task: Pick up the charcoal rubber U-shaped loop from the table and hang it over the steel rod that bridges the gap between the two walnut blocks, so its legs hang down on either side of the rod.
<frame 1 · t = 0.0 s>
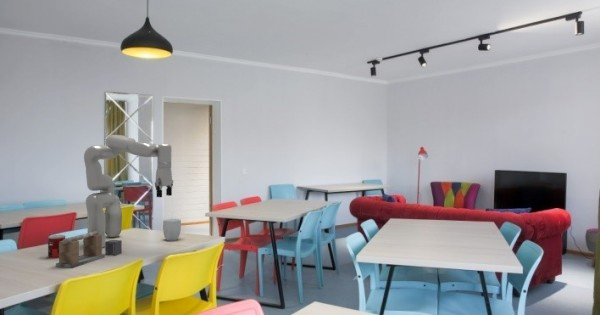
hand: (164, 196, 236), 31 cm above the table, tool pointing down, fingers open, 9 cm apart
rubber loop: (113, 254, 230), on the table
rod stand: (81, 261, 214), on the table
canned food: (56, 257, 223), on the table
mug: (172, 239, 269), on the table
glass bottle: (113, 237, 275), on the table
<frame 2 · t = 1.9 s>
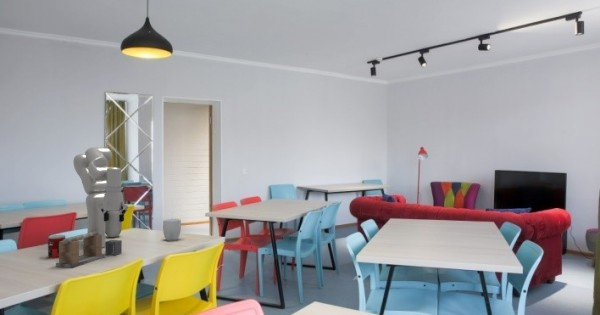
hand: (113, 221, 229), 18 cm above the table, tool pointing down, fingers open, 9 cm apart
nothing on the table moved.
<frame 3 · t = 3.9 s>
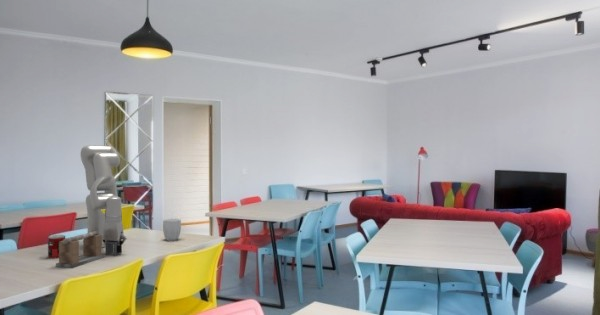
hand: (113, 251, 230), 1 cm above the table, tool pointing down, fingers closed on rubber loop, 6 cm apart
rubber loop: (113, 254, 230), on the table, touching gripper
everything else where it was.
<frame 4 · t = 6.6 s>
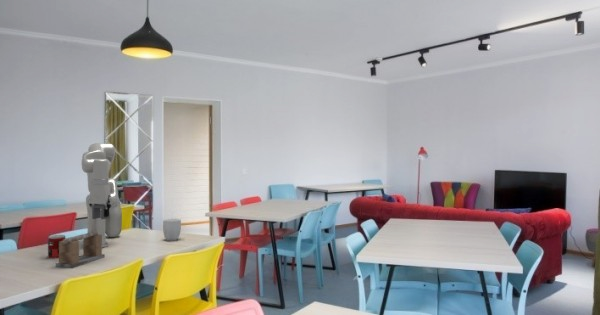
hand: (100, 216, 222), 22 cm above the table, tool pointing down, fingers closed on rubber loop, 6 cm apart
rubber loop: (100, 218, 222), point 21 cm above the table, touching gripper
everything else where it was.
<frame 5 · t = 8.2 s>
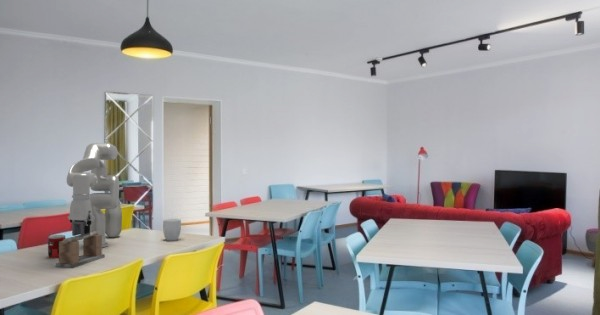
hand: (81, 232, 213), 15 cm above the table, tool pointing down, fingers closed on rubber loop, 6 cm apart
rubber loop: (81, 235, 213), point 14 cm above the table, touching gripper
everything else where it was.
when the fingers open (10 cm above the table, at t = 9.5 s): rubber loop drops 1 cm, resting on rod stand.
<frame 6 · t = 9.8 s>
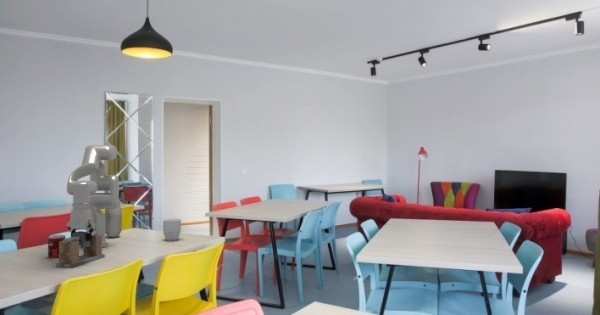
hand: (81, 240, 214), 11 cm above the table, tool pointing down, fingers open, 8 cm apart
rubber loop: (81, 246, 214), point 8 cm above the table, touching rod stand
everything else where it was.
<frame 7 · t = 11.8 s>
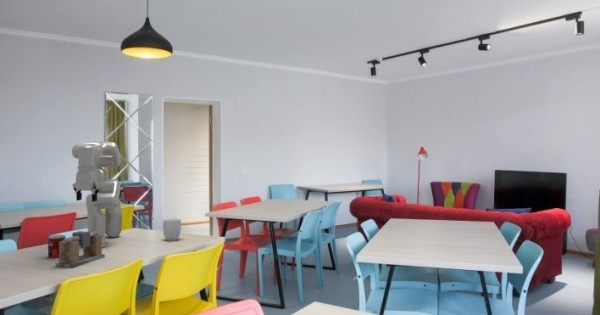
hand: (86, 200, 224), 30 cm above the table, tool pointing down, fingers open, 9 cm apart
nothing on the table moved.
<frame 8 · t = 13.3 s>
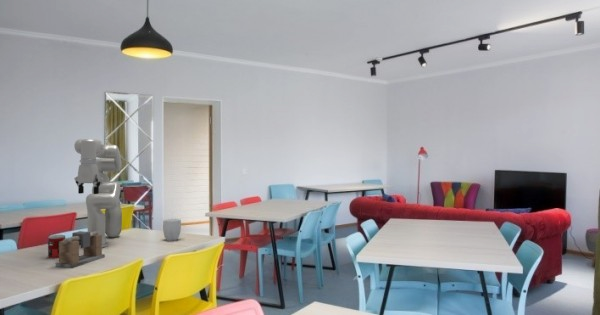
hand: (88, 193, 228), 33 cm above the table, tool pointing down, fingers open, 9 cm apart
nothing on the table moved.
at the end: rubber loop 0.0 cm from the target spot, point 7.7 cm above the table; rubber loop tilted 0°; the gripper is holding nothing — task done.
